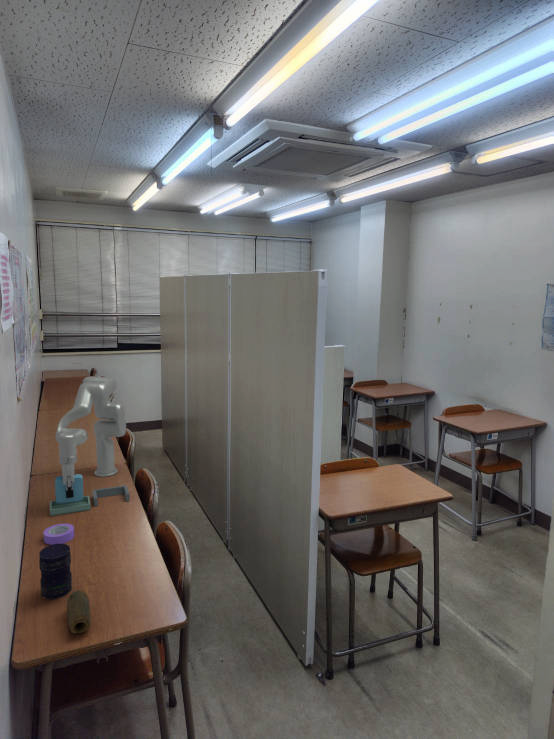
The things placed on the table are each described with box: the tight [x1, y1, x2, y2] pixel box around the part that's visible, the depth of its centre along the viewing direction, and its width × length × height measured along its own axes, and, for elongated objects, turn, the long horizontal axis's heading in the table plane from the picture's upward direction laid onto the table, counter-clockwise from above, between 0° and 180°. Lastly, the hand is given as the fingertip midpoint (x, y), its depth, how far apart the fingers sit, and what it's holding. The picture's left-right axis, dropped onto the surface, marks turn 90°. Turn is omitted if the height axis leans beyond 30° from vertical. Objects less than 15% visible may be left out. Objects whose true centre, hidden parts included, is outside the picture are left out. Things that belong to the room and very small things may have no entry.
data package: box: [54, 473, 84, 504], centre depth 225 cm, size 12×4×12 cm, turn 113°
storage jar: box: [38, 543, 73, 600], centre depth 162 cm, size 10×10×15 cm
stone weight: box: [66, 590, 92, 635], centre depth 148 cm, size 15×7×7 cm, turn 30°
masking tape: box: [43, 523, 75, 546], centre depth 199 cm, size 12×12×4 cm
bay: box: [92, 484, 131, 507], centre depth 237 cm, size 12×16×4 cm
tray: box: [49, 495, 92, 517], centre depth 226 cm, size 11×18×3 cm, turn 115°
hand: (69, 495), depth 225 cm, fingers closed on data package, 4 cm apart
